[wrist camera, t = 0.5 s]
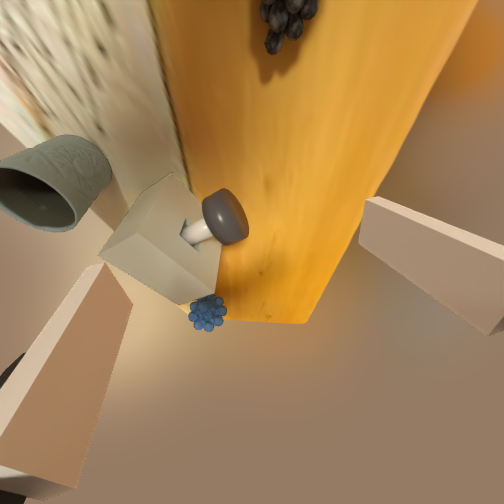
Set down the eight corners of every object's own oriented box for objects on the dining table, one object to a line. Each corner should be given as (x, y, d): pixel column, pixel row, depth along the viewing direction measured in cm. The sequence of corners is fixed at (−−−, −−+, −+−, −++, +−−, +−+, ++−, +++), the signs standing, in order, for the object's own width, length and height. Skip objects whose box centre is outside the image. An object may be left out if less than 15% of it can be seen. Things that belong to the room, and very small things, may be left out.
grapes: (224, 282, 59) (219, 322, 51) (231, 295, 64) (227, 333, 56) (186, 287, 61) (176, 327, 53) (195, 299, 66) (187, 337, 58)
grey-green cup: (116, 147, 33) (70, 184, 25) (118, 198, 40) (82, 241, 31) (38, 117, 30) (-43, 149, 22) (54, 178, 37) (-3, 220, 29)
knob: (169, 209, 35) (154, 241, 30) (222, 178, 31) (215, 209, 26) (200, 239, 40) (192, 271, 35) (249, 216, 36) (248, 248, 31)
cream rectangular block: (141, 192, 39) (97, 255, 28) (173, 171, 36) (137, 232, 25) (195, 243, 48) (178, 305, 37) (224, 229, 45) (214, 292, 34)
